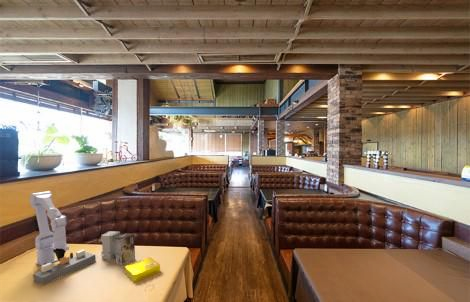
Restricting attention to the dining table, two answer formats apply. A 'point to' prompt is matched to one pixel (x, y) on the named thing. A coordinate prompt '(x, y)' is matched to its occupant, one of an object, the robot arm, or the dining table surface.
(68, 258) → the orange block
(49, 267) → the paddle
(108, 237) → the circuit breaker
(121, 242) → the coffee box
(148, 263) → the element tile
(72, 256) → the cord posts
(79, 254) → the paddle
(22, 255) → the dining table surface
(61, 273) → the breaker panel
